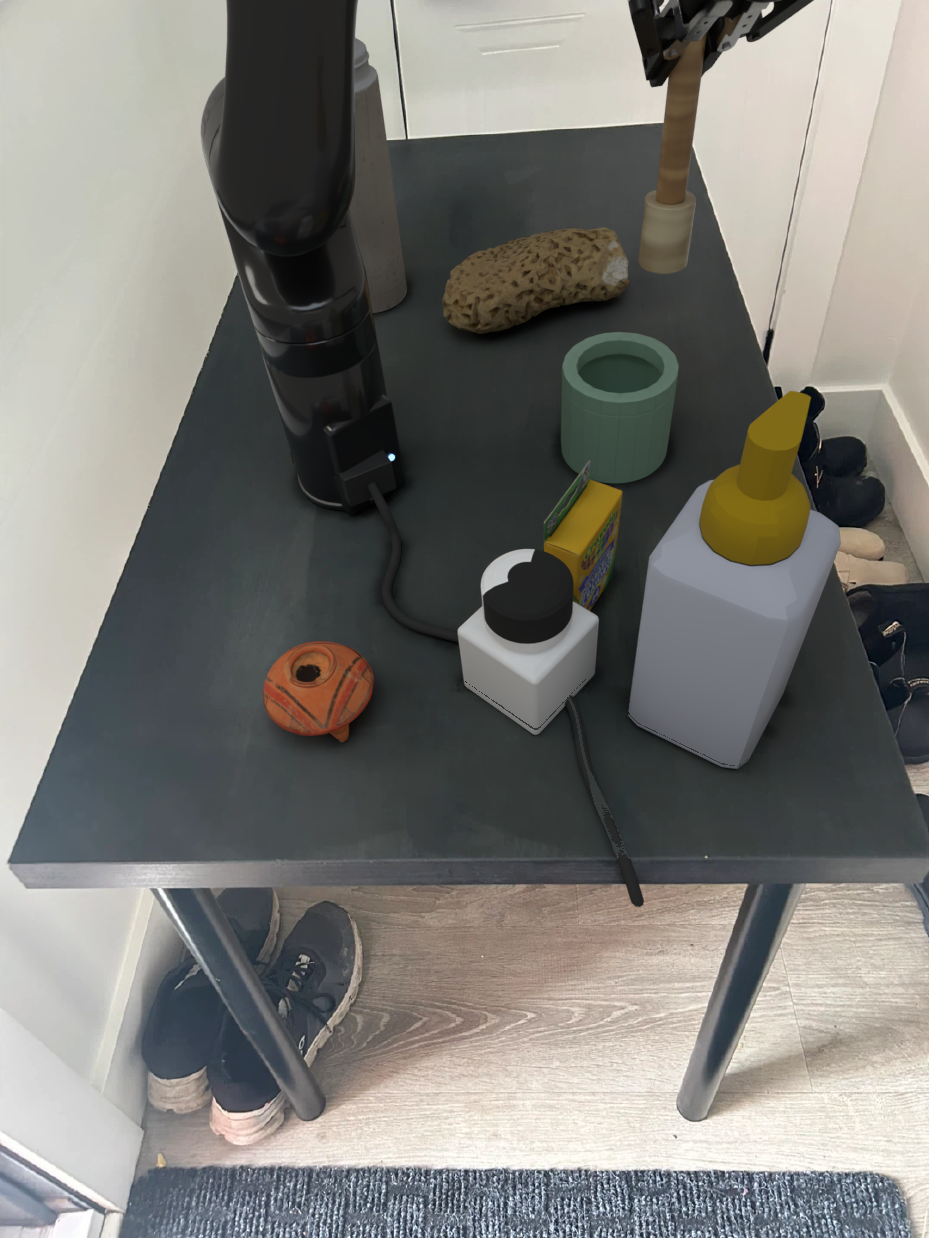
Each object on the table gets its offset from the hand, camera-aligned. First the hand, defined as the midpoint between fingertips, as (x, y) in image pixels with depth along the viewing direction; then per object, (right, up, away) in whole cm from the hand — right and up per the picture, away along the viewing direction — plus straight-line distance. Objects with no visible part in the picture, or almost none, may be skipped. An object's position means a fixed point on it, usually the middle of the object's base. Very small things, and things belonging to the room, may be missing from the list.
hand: (671, 70), depth 62 cm
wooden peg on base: (+1, -10, +8) cm, 13 cm away
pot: (-25, -45, +4) cm, 52 cm away
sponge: (-7, -5, +34) cm, 35 cm away
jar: (-1, -23, +20) cm, 30 cm away
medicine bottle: (-10, -43, +5) cm, 44 cm away
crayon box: (-5, -37, +9) cm, 39 cm away
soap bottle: (+3, -45, +2) cm, 45 cm away
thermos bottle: (-25, -2, +38) cm, 46 cm away
